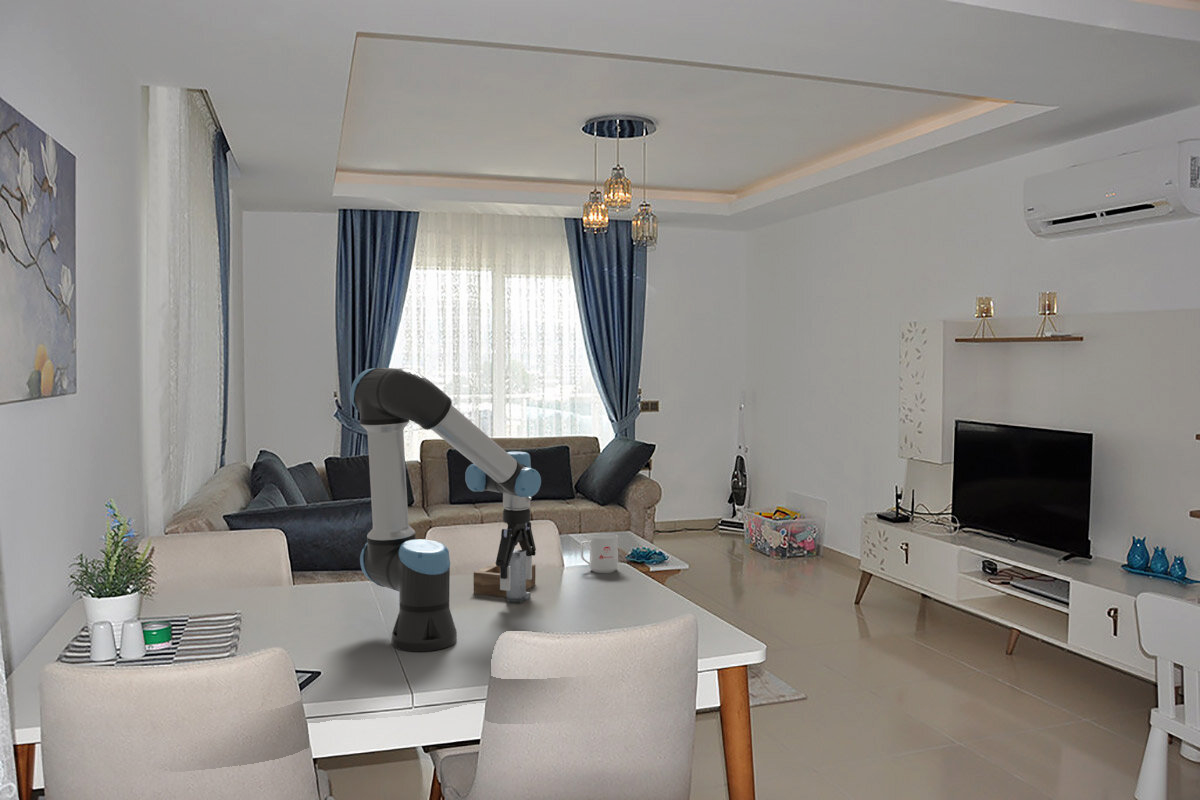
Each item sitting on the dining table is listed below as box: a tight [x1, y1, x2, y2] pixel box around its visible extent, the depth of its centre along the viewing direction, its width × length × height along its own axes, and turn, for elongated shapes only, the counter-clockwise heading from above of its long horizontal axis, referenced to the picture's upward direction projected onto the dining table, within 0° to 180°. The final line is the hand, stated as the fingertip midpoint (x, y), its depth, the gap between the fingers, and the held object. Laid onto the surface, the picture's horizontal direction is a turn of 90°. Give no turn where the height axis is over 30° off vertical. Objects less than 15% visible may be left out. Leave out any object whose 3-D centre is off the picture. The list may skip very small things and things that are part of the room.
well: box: [473, 562, 536, 598], centre depth 269 cm, size 16×12×6 cm
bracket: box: [505, 548, 531, 605], centre depth 256 cm, size 7×4×14 cm, turn 159°
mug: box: [580, 532, 619, 574], centre depth 292 cm, size 12×9×11 cm
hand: (516, 584), depth 255 cm, fingers open, 13 cm apart
